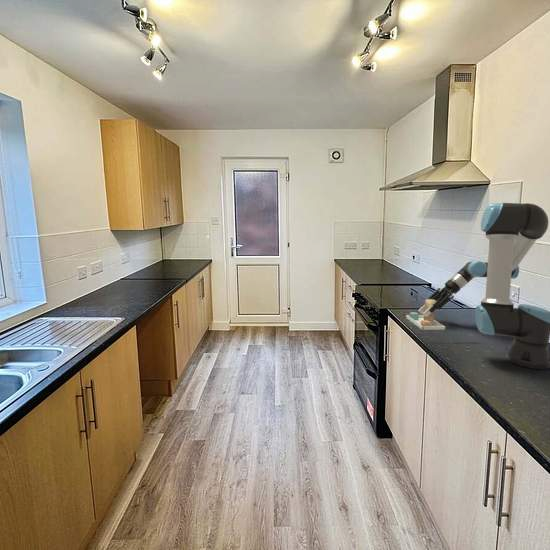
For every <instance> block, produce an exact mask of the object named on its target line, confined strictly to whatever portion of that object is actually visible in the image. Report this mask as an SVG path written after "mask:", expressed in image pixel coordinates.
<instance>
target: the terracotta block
mask: <svg viewBox="0 0 550 550" xmlns="http://www.w3.org/2000/svg"><path fill="white" fill-rule="evenodd" d="M421 325H422V326H431V322H429V321H428V320H421Z"/></svg>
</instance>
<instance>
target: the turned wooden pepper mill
mask: <svg viewBox="0 0 550 550" xmlns="http://www.w3.org/2000/svg"><path fill="white" fill-rule="evenodd" d="M435 301H436V300H434V299H428V298H425V299H424V305H425V309H424V312H425V311H426V310H427V309H428V308H429V307H430V306H432V304H435V303H436V302H437V301H436V302H435ZM435 311H436V309H435V310H434V311H433V312H432V313H431V314H430V315H429V316H428V317H425V316H424V320H428V321H434V320H435Z"/></svg>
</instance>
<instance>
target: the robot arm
mask: <svg viewBox="0 0 550 550" xmlns="http://www.w3.org/2000/svg"><path fill="white" fill-rule="evenodd" d="M548 228H549V217H548V215H547V212H546V211H545V210H544V209H543V208H542V207H541V206H539V205H537V204H534V203H521V202H520V203H517V202H515V203H514V202H513V203H512V202H496V203H495V202H494V203H490V204H488V205H487V206H486V208H485V209H484V211H483V213H482V217H481V221H480V230H481V231H482V232H484V233H485V238H487V239H488V241H489V242H488V255H487V261H482V260H476V259H471V260H469V261H468V262H467V263H466V264H465V265H464V266H463V267H462V268H460V270H458V271H457V272H456V273H454V275H453V276H451V278H450V279H448V280H446V282H445V283H444V287H443V288H440V287H439V288H437V289H436V291H434V292H433V293H432V294H431V295H430V296H429V297H427V299H434V300H436V301H435V304H432V306H430V307H429V308H428V309H427V310H426V311H425V312H424V309H425V304H424V305H423V306H421V307H420V308H419V309H418V312H419V313H420V315H424V316H425V317H428V316H429V315H430V314H431V313H432V312H433V311H434V310H435V311H436V310H441V308H443V307H444V306H446V304H447V303H448V302H450V301H451V300H452V299H454V298H455V296H454V294H455V295H456V294H457V293H459V291H461V289H463V288H464V287H466V285H467V284H469V283H470V282H471V281H472V280H474V278H486V285H485V297H484V298H483V299H481V301H480V304H479V305H476V306H475V310H474V320H475V325H476V327H477V330H478V331H479V332H480V333H481V334H483V335H484V334H485V335H491V336H503V337H504V336H507V337H513V340H512V342H511V345H510V346H509V349H508V351H506V356H505V357H506V360H507V361H509V362H510V363H512V364H515V365H517V366H520V367H524V368H529V369H535V370H547V369H550V351H549V342H550V310H549V309H546V308H542V307H539V306H536V305H531V304H524V303H519V304H518V305H517V307H514V305H515V303H514V302H512V300H511V287H512V286H511V283H512V280H513V279H514V280H515V279H517V278H518V277H519V273H520V266H519V265H520V263H522V261H523V260H524V258H525V256H527V254H528V252H529V251H530V249H531V248H533V246H534V244H535V243H536V241H538V240H540V239H541V238H543V236H545V233H546V232H547V230H548Z"/></svg>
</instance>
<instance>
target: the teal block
mask: <svg viewBox="0 0 550 550" xmlns="http://www.w3.org/2000/svg"><path fill="white" fill-rule="evenodd" d="M409 315H410V317H411V318H412V319H413V320H418V318H419V315H420V314H419V313H418V312H417V311H415V312H414V311H413V312H412V311H411V312H409Z"/></svg>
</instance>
